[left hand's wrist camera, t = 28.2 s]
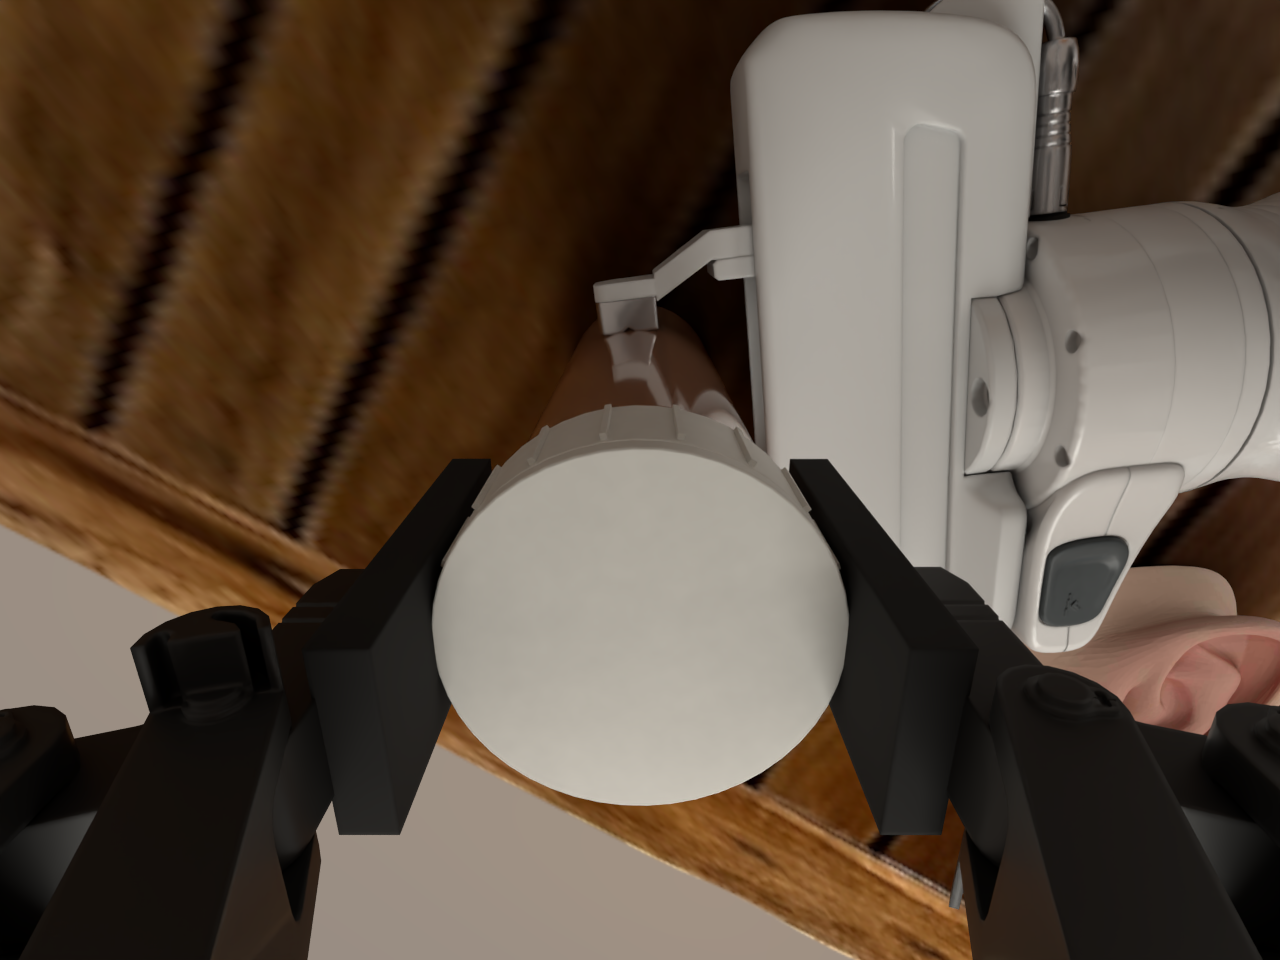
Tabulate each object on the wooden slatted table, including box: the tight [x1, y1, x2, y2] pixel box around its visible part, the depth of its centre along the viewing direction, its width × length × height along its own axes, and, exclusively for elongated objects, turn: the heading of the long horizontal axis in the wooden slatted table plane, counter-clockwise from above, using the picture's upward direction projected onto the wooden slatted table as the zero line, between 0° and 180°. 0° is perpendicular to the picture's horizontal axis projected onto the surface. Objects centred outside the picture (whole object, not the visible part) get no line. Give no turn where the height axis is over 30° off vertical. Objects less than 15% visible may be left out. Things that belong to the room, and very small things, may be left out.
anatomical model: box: [1024, 566, 1280, 736], centre depth 31 cm, size 13×4×12 cm
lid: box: [432, 404, 849, 806], centre depth 11 cm, size 6×6×2 cm
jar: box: [527, 306, 753, 443], centre depth 19 cm, size 6×6×18 cm
